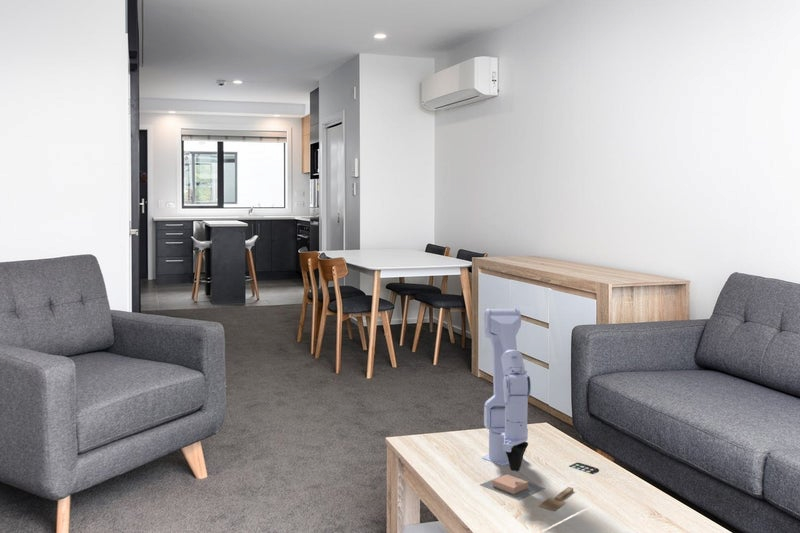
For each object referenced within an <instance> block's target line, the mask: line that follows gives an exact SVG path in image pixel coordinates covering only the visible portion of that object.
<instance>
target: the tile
mask: <svg viewBox="0 0 800 533" xmlns="http://www.w3.org/2000/svg"><path fill="white" fill-rule="evenodd" d="M503 475H504V476H503ZM503 475H501V477H500V476H498V477H499V478H498V477H495V478H496V479H495V478H493V479H494V480H493V479H492V480H493V483H492V486H494V487H496V488H499V489H501V490H504V491H507V492H509V493H512V494H515V493H517V492H520V491H522V490H524V489H527V488H528V482H529V481H528V480H524V479H521V478H518V477H517V476H516V477H515V476H512V475H511V474H507V473H506V475H505V474H503Z"/></svg>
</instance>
